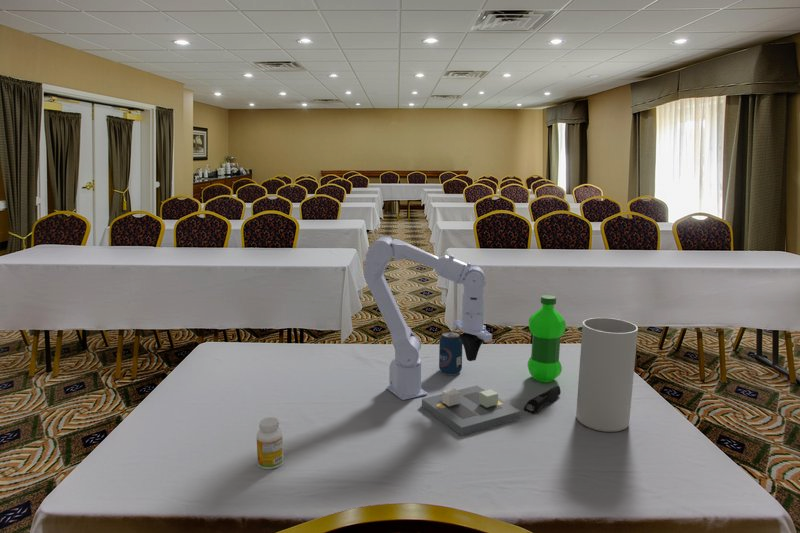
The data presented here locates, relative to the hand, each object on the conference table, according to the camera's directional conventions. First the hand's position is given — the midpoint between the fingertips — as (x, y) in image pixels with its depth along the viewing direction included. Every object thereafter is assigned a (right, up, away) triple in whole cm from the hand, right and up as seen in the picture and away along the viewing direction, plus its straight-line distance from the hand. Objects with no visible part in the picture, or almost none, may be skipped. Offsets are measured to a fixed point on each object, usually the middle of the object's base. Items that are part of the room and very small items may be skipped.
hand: (471, 359), depth 154 cm
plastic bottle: (+23, -8, +14) cm, 28 cm away
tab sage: (+3, -10, -8) cm, 13 cm away
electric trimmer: (+19, -12, -2) cm, 22 cm away
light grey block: (-6, -10, -8) cm, 14 cm away
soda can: (-4, -7, +19) cm, 21 cm away
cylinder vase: (+31, -14, -12) cm, 36 cm away
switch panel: (-1, -12, -8) cm, 14 cm away
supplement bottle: (-47, -17, -32) cm, 59 cm away
